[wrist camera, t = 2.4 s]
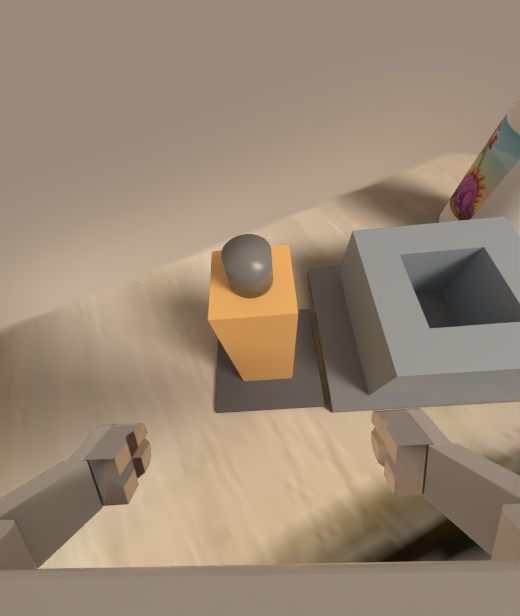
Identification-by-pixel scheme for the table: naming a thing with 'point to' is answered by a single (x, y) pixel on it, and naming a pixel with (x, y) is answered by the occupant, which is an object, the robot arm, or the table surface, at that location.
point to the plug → (254, 307)
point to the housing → (422, 316)
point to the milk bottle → (492, 178)
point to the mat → (275, 392)
